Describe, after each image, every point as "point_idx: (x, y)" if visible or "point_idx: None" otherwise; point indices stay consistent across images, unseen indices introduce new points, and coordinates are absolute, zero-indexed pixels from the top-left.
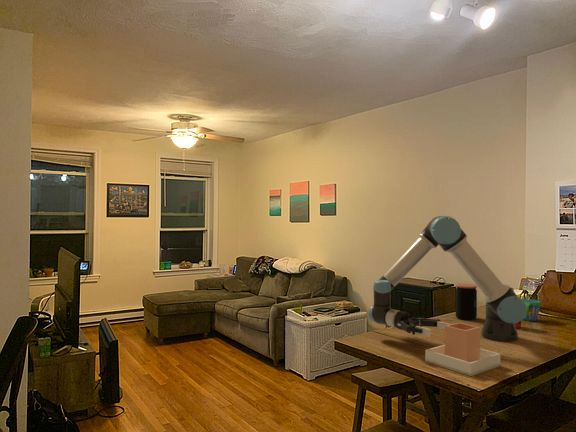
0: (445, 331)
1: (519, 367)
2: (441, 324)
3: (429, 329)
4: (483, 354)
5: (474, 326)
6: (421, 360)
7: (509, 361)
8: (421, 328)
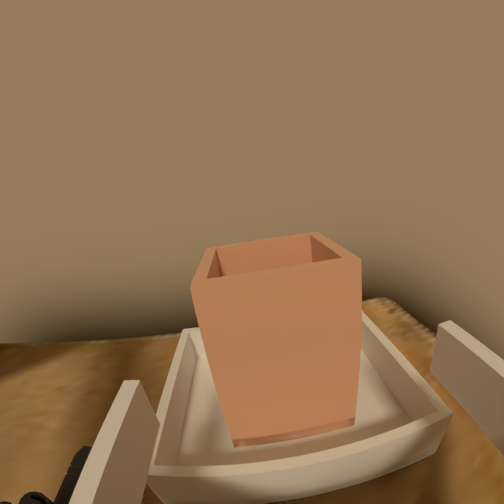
0: (359, 292)
1: (167, 344)
2: (118, 477)
3: (450, 322)
4: (185, 375)
5: (212, 252)
6: (446, 468)
7: (131, 369)
8: (500, 368)
